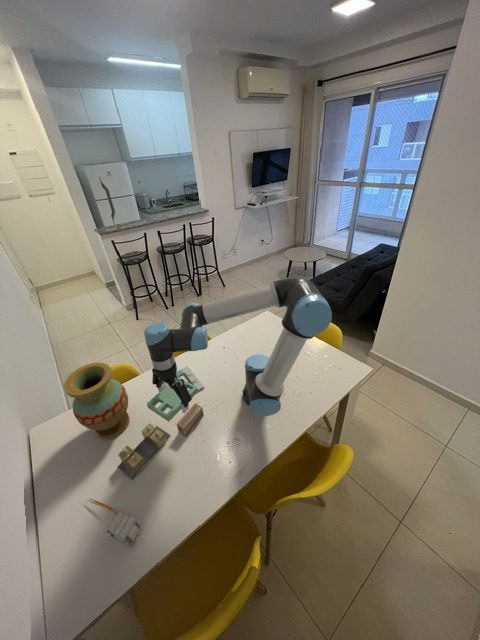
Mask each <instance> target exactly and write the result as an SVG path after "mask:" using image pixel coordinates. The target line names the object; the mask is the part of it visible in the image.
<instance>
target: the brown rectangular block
mask: <svg viewBox="0 0 480 640" xmlns="http://www.w3.org/2000/svg"><path fill="white" fill-rule="evenodd" d="M203 417H204V409H203V406H201V405H199V404H197V403H194V404H192V406H191V407H189V409H188V410H187V411H186V412H185V413H184V415H183V416H182V417H181V418H180V420H179V421H177V422H176V428H177V430H178V433H179V434H181V435H182V436H184V437H185V438H187V436H188V435H189V434H190V433H191V432H192V430H193V429H194V428H195V427H196V425H198V423H199V422H200V421H201V420H202V419H203Z"/></svg>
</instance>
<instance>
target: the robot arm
mask: <svg viewBox="0 0 480 640" xmlns="http://www.w3.org/2000/svg"><path fill="white" fill-rule="evenodd" d="M272 307H276V308H277V309H280V308H283V307H284V308H285V307H286V310H285V313H284V314H283V316H282V320H281V326H282V330H281V332H280V334H279V337H278V339H277V341H276V343H275V345H274V348H273V349H272V352H271V354H270V356H267V355H264V354H253V355H250V356H248V357H247V358H246V360H245V362H244V368H245V369H244V370H245V385H244V387H243V388H242V399H243V401H244V402H245V404H246V405H247V406H249V407H250V411H251V413H253V414H255V415H256V416H259V417H269V416H273V415H276V414H277V413H279V412H280V410H281V409H282V403H281V400H280V399H281V397H282V395H283V393H284V390H285V386H284V385H285V384H284V383H285V381H286V379H287V377H288V376H289V373H290V372H291V370H292V369H293V366H294V365H295V363H296V361H297V359H298V357H299V355H300V353H301V351H302V350H303V348H304V347H305V344H306V342H307V341H308V340H311V339H313V338H314V337H316V336H318V335H320V333H324V332H325V331H326V330H327V329H328V328H329V326H330V325H331V322H332V317H333V313H332V309H331V306H330V304H329V302H328V301H327V299H326V298H325V297H324V296H323V295H322V293H321V292H320V291H319V290H318V288H317V285H315V283H314V282H313V281H311V280H309V279H308V278H304V277H288V278H281V279H278V280H275V281H274V280H273V281H271V282H270V284H269V285H267V286H263V287H260V288H257V289H253V290H250V291H245V292H242V293H239V294H236V295H232V296H228V297H225V298H221V299H218V300H215V301H210V302H208V303H203V304H199V303H197V302H189V303H187V304H186V305H185V306H184V308H183V310H182V313H181V322H180V325H179V326H180V327H179V328H173V329H172V328H171V329H170V328H169V327H168V325H167V323H164V322H159V321H158V322H153V323H151V324H149V325H147V326H146V328H145V329H144V332H143V333H144V334H143V335H144V338H145V343H146V346H147V349H148V353H149V356H150V361H151V365H152V367H153V368H152V369H151V371H152V385H153V386H154V385H155V388H157V390H158V393H159V392H160V391H161V390H163V389H164V388H165V387H166V386H165V384H164V382H165V383H167V384H168V385H169V386H170V388H171V389H173V390H174V391H175V393H176V394H177V395H178V397H179V398H180V400H181V401H180V403H181V407H182V409H181V410H182V411H181V412H182V414H186V413H187V412H188V411H189V410H190V407H189V404H190V402H191V401H192V399H193V397H192V398H191V396H190V394H189V392H188V390H189V389H188V388H186V386H185V384H184V380H185V379H183V378H181V380H179V379H178V378H177V376H176V371H178V366H177V361H176V359H175V355H174V353H181V352H182V353H183V352H197V351H203V350H206V349H208V347H209V342H208V341H209V338H208V330H207V328H206V327H205V326H207V325H210V324H214V323H217V322H218V323H219V322H221V321H225V320H228V319H229V320H230V319H233V318H236V317H239V316H245V315H247V314H250V313H255V312H259V311H262V310H265V309H269V308H272ZM175 382H176V383H175ZM174 383H175V384H174ZM173 384H174V385H173ZM172 385H173V386H172Z"/></svg>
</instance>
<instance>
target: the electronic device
mask: <svg viewBox="0 0 480 640" xmlns="http://www.w3.org/2000/svg"><path fill="white" fill-rule="evenodd" d="M183 375H185V377H186V378H187V379H188V382H189V383H190V384H192V385H194V386H196V387H197V388H198V392H200V391H202V390H203V389H205V386H204V385H203V384H202V382H201V381H200V380H199V378H197V376H196V375H195V373H194V372H193V371H192V370H191V368H190V366H188V365H187V366H185V367H182V368H180V369H179V370H178V369H177V371H176V376H177V377H179V378H180V377H181V376H183ZM163 384H164V385H165V387H166V386H167V385H168V384H167V383H165V382H164V383H163ZM187 390H188V392H189V391H190V390H191V389H189V388H188V389H187Z"/></svg>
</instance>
